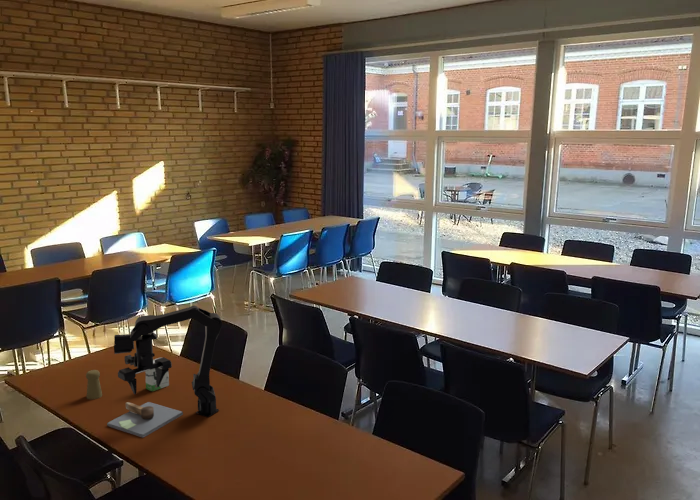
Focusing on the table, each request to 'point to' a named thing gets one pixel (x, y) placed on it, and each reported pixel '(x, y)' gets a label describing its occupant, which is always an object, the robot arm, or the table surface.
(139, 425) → the board
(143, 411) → the peg lever
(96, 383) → the cork
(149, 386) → the ink box
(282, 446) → the table surface
